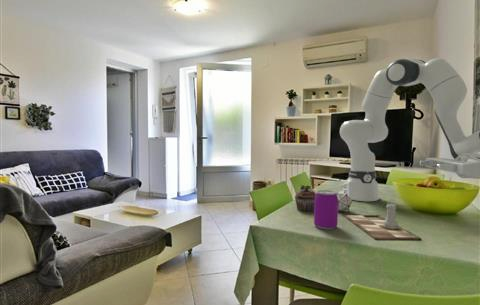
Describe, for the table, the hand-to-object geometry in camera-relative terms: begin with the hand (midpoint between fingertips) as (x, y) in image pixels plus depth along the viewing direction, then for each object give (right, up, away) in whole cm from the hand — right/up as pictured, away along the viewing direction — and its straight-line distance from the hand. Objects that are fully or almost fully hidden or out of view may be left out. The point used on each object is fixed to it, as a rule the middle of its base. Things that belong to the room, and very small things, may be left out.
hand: (429, 165), depth 103 cm
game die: (-25, -20, +18) cm, 36 cm away
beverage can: (-38, -21, -3) cm, 43 cm away
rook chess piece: (-16, -21, -5) cm, 27 cm away
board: (-19, -21, -2) cm, 29 cm away
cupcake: (-39, -20, +20) cm, 48 cm away
